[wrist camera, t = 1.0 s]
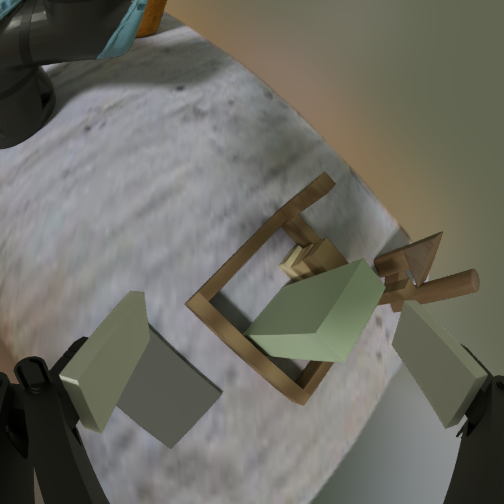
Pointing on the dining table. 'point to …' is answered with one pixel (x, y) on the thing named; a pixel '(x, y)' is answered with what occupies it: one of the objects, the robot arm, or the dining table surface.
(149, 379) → the felt mat
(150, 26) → the wine bottle
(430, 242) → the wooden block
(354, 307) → the sage block
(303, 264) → the oak offcut
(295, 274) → the pine offcut
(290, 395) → the rack
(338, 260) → the walnut offcut
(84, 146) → the dining table surface
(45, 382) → the robot arm
